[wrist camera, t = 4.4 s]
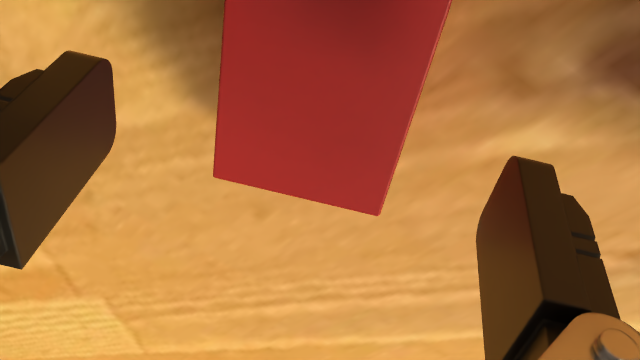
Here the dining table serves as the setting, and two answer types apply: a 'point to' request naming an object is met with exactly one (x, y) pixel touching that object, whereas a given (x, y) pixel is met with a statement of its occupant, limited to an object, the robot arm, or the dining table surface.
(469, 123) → the dining table surface
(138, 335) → the dining table surface
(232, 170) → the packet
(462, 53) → the dining table surface
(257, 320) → the dining table surface
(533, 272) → the robot arm
